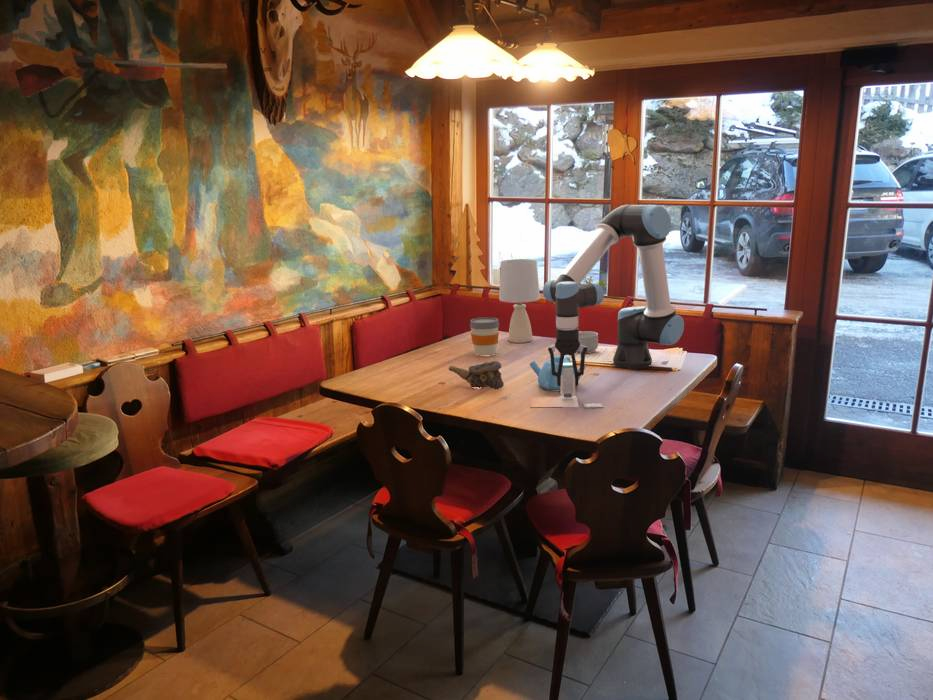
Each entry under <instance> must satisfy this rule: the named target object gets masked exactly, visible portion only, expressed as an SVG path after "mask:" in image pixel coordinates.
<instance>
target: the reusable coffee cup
mask: <svg viewBox="0 0 933 700" xmlns="http://www.w3.org/2000/svg"><path fill="white" fill-rule="evenodd" d="M469 323H470V324H469V328H470V330H471V333H470V336H471V342H472V345H473V349H474V354H478V355H492V356H494V355H493V354H495V353H496V354H497V346H498V345H497V344H498V343H499V327H500V321H499V318H497V317H477V318H472V319H470V321H469ZM496 354H495V355H496Z"/></svg>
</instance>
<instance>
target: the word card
mask: <svg viewBox="0 0 933 700" xmlns="http://www.w3.org/2000/svg"><path fill="white" fill-rule="evenodd" d="M583 406H584V409H604V405H603V403H599V402H598V403H595V402H593V403H583Z"/></svg>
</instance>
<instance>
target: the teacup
mask: <svg viewBox="0 0 933 700" xmlns="http://www.w3.org/2000/svg"><path fill="white" fill-rule="evenodd" d="M598 335H599V333H598V332H596V331H587V330H586V331H582V330H581V331H579V342H580V344H581V345H583V346H587V351H586V352H591V353H593V352H595V350H597V349H598V346H599V336H598ZM576 352H578V353H579V352H581V351H580V348H578V350H577V351H576Z"/></svg>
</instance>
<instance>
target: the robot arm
mask: <svg viewBox="0 0 933 700" xmlns="http://www.w3.org/2000/svg"><path fill="white" fill-rule="evenodd" d="M671 227H672V220H671V216H670V213H669V211H668V210H667V209H666V208H664V207H663V206H662V205H657V204H624V205H620V206H618V207H616V208H615V209H613V210H611V212H609V213H608V214H607V215H606V216H604V217H603V218H602V219H601V221H600V222H598V223H597V225H596V227H595V231H594V233H593V234H592V236H591V237H590V238H589V239H588V240H587V242H586V243H585V244H584V245H583V246H582V248H581V249H580V250H579V251H578V253H577V254H576V255H575V256H574V257H573V259H572V260H571V261H570V263H568V265H567V266H566V267H565V268H564V270H563V271H562V272H561V273H560V274H559V276H557V278H556V280H555V279H552V280H548V281H546V282H545V284H544V285H543V288H542V295H543V297H544V298H545V300H547V301H549V302H552V303H554V304H555V327H556V330H555V332H556V333H555V342H554V345H551V346H550V345H549V346H547V350H548V353H549V356H550V359H551V370H552V375H553V376H556V377H557V385H558V386H560V389H561V391H560V396H564V394H563V376H561V372H562V366H563V360H564V358H565V357H566V356H570V359H571V361H572V362H571V363H573V369H574V374H575V375H573V394H572V396H576V386H577V387H578V386H579V381H578V377H579V376H580V375H581V376H584V374H585V369H584V365H585V361H586V360H585V359H586V354H587V353H586V351H587V346H583V345H581V344H580V342H579V330H580V329H579V327H580V326H579V321H580V320H579V309H583V308H587V307H595V306H596V305H600V304H601V303H602V302H603V301H604V298H605V291H604V288H603V287H602V285H600V284H599V283H597V282H596V283H595V282H594V283H592V282H590V283H586V284H585V283H582V282H583V281H584V279H585V278H586V277H587V276H588V275H589V274H590V272H591V271H592V270H593V269H594V267H595V266H596V264H597V263H598V262H599V261H600V260H601V259H602V258H603V256H604V255H605V254H606V252H608V249H609V248H610V247H611V246H612V245H615V244H617V243H618V242H619V240H620V239H622V238H625V237H629V238H630V237H631V238H632V243H633V245H634V246H635V247H636V248H637V249H638V252H639V253H638V254H639V260H640V261H639V262H640V267H641V275H642V279H643V280H642V281H643V282H642V283H643V288H644V289H643V290H644V295H645V301H646V306H643V305H642V306H629V307H624V308H621V309H620V310H619V311H618V313H617V347H616V350H615V352H614V356H613V359H612V365H613V366H615V367H616V368H621V369H628V370H638V369H639V370H640V369H646V368H649V367H648V366H649V365H651V364H653V360H652V359H653V358H652V355H651V352H650V349H649V345H648V343H653V344H657V345H661V346H664V345H665V346H673V345H675V344H677V343H678V342H679V340H680V339H681V337H682V335H683V333H684V329H685V322H684V317H682V316H681V315H679V314H677V312H676V307H675V306H674V305H672V304H671V299H670V291H669V290H670V289H669V282H668V275H667V269H666V262H665V254H664V253H665V252H664V247H663V244H664V243H665V242H666V240H667V236H668V235H669V234H670V231H671ZM578 348H580V351H581V353H580V362H579V363H580V364H579V368H580V371H578V370H579V369H578V366H577V360H576V356H575V354H576V352H578V351H577V350H578ZM556 350H557V351H558V353H559V356H560V359H559V365H558V371H557V372H556V371H555V362H554V357H555V354H554V353H555V351H556ZM651 366H652V365H651Z"/></svg>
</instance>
